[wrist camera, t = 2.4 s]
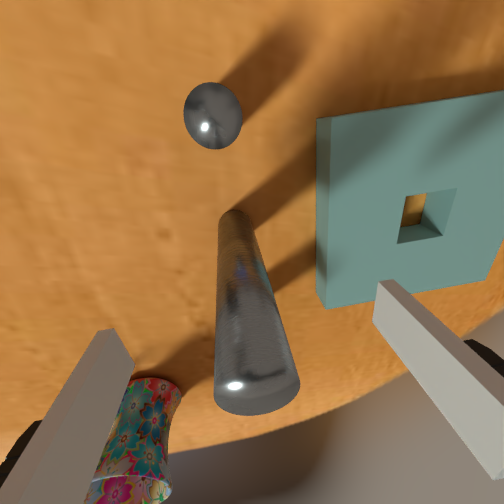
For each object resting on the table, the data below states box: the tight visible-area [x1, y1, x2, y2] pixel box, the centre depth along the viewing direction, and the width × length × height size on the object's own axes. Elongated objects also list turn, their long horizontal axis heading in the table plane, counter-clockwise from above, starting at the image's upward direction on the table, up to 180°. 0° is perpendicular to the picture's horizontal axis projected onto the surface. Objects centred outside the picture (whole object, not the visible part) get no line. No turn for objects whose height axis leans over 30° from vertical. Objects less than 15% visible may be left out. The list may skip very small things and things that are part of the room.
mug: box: [83, 378, 181, 504], centre depth 28 cm, size 12×9×11 cm
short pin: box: [184, 82, 242, 149], centre depth 16 cm, size 3×3×6 cm
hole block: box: [316, 90, 504, 309], centre depth 22 cm, size 18×18×3 cm
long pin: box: [214, 210, 300, 416], centre depth 16 cm, size 3×3×16 cm
